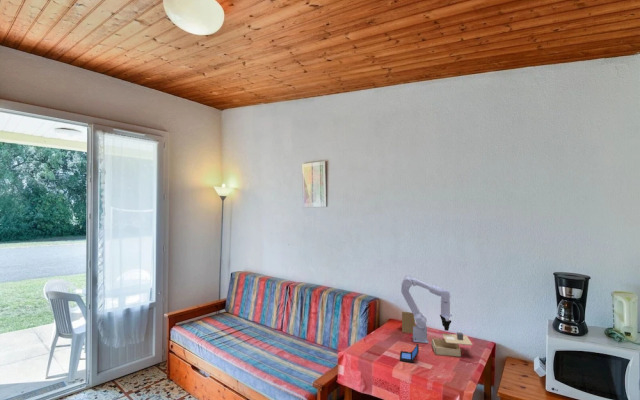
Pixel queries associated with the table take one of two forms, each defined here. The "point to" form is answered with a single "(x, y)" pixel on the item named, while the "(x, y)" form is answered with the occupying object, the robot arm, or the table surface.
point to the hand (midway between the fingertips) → (445, 328)
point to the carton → (445, 348)
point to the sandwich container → (408, 322)
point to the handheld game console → (409, 355)
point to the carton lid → (457, 339)
